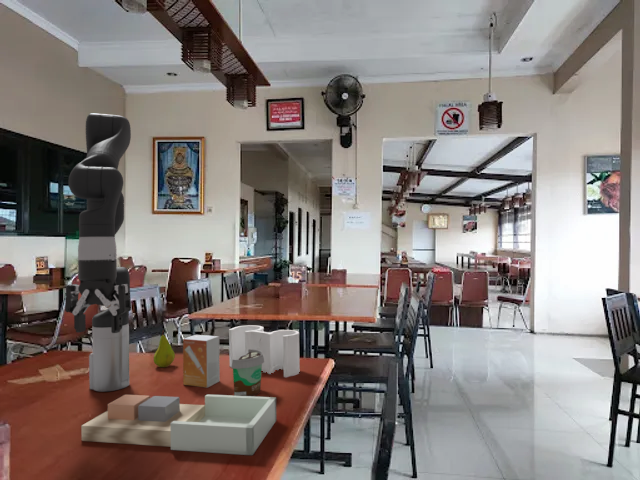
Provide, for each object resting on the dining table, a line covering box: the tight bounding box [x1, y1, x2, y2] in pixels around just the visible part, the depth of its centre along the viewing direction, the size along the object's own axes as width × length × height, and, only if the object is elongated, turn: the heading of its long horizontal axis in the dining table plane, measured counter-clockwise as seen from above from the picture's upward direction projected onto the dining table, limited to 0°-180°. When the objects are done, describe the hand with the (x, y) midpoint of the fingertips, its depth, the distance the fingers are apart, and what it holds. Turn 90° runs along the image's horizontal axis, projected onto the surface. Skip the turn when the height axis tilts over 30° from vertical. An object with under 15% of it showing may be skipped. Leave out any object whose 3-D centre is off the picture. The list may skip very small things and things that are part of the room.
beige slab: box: [80, 403, 205, 448], centre depth 94 cm, size 20×14×3 cm
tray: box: [170, 394, 277, 456], centre depth 90 cm, size 16×16×5 cm
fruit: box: [153, 330, 176, 368], centre depth 143 cm, size 6×6×12 cm
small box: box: [182, 334, 221, 389], centre depth 124 cm, size 8×6×13 cm
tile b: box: [138, 395, 181, 422], centre depth 93 cm, size 6×6×3 cm
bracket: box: [228, 324, 301, 378], centre depth 139 cm, size 25×10×12 cm, turn 55°
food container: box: [231, 349, 264, 397], centre depth 116 cm, size 12×6×10 cm, turn 168°
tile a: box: [107, 394, 151, 420], centre depth 94 cm, size 6×6×3 cm
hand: (98, 332), depth 96 cm, fingers open, 8 cm apart
